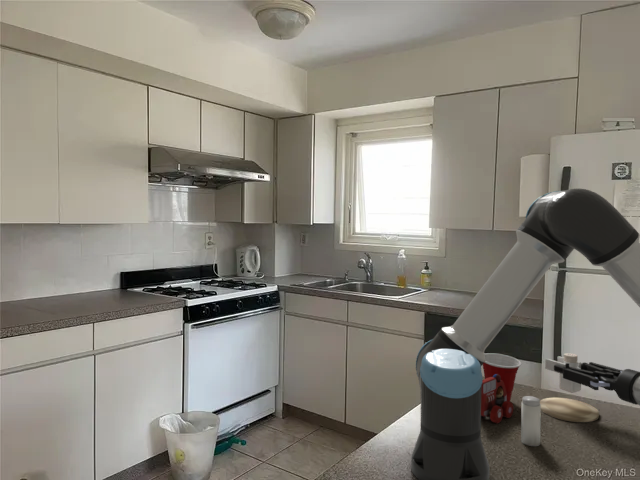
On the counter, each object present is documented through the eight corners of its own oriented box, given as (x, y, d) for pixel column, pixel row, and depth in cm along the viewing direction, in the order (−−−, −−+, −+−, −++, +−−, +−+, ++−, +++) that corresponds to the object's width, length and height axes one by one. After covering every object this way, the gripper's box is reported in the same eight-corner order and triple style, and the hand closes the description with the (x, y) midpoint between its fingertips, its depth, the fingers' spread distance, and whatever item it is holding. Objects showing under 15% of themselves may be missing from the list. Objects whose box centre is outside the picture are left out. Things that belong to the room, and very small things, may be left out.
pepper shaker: (572, 394, 123) (573, 357, 123) (558, 389, 127) (558, 354, 126) (582, 391, 125) (582, 355, 125) (567, 386, 129) (568, 351, 128)
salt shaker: (539, 447, 106) (539, 403, 105) (519, 443, 108) (520, 400, 107) (541, 440, 109) (541, 397, 109) (522, 436, 111) (523, 394, 111)
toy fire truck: (517, 414, 124) (518, 375, 124) (492, 427, 116) (492, 385, 116) (492, 406, 130) (493, 368, 129) (467, 418, 122) (467, 378, 121)
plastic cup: (508, 411, 126) (509, 366, 125) (471, 399, 134) (472, 357, 134) (527, 401, 133) (528, 358, 132) (491, 390, 141) (492, 350, 141)
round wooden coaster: (599, 426, 117) (599, 422, 117) (536, 415, 123) (536, 411, 123) (597, 407, 129) (597, 403, 129) (541, 397, 136) (541, 393, 136)
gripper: (617, 412, 106) (530, 380, 127) (662, 398, 113) (572, 371, 134) (618, 378, 106) (530, 352, 127) (663, 367, 113) (573, 344, 134)
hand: (552, 362), depth 130 cm, fingers closed on pepper shaker, 4 cm apart
